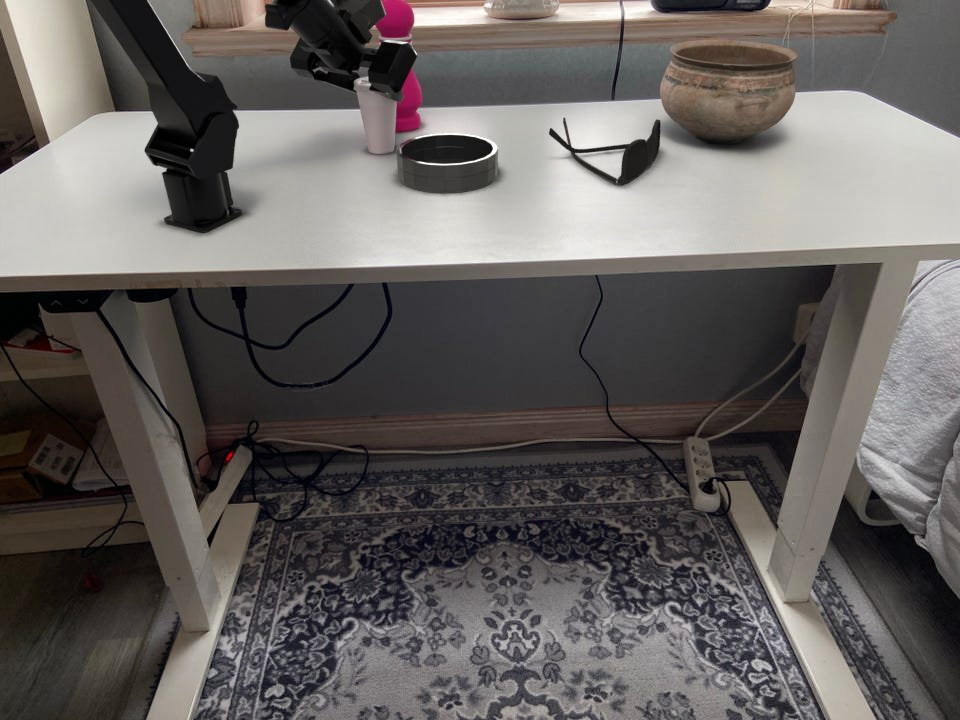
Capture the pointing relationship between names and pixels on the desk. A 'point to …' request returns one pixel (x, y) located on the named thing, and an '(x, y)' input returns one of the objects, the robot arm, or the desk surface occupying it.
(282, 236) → the desk surface
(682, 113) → the cooking pot
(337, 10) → the robot arm
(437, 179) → the pan
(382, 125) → the smoothie
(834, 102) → the desk surface
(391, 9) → the pepper mill
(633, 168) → the sunglasses
